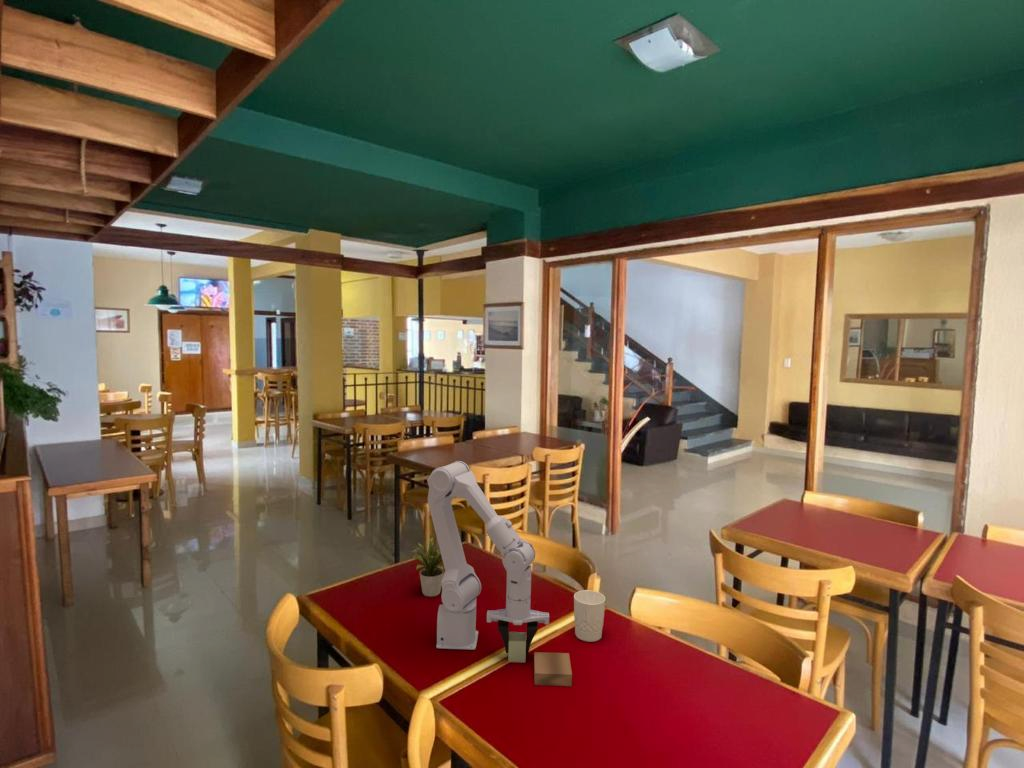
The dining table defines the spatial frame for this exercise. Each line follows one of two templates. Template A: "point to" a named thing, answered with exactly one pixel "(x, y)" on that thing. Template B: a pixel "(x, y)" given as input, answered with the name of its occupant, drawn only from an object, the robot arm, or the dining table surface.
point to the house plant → (430, 569)
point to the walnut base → (552, 669)
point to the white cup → (589, 615)
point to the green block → (517, 647)
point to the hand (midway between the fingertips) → (517, 651)
